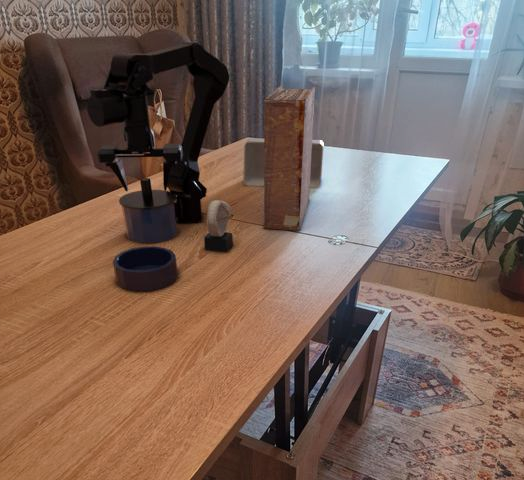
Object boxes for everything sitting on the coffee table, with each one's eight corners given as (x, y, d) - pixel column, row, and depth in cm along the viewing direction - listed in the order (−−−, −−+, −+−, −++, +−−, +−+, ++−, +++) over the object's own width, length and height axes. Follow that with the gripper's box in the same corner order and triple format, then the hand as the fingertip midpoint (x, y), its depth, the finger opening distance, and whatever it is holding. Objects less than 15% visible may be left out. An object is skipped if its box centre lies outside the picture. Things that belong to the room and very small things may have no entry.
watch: (235, 242, 118) (233, 197, 111) (224, 255, 111) (221, 208, 105) (213, 239, 119) (211, 195, 113) (201, 252, 113) (198, 206, 106)
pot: (179, 223, 128) (176, 191, 123) (175, 242, 118) (171, 208, 113) (131, 225, 127) (126, 192, 122) (123, 243, 117) (117, 209, 112)
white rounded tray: (321, 174, 166) (324, 135, 159) (320, 188, 153) (323, 146, 146) (250, 172, 169) (249, 133, 162) (243, 185, 156) (242, 144, 149)
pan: (179, 264, 108) (177, 245, 105) (174, 290, 97) (172, 270, 95) (122, 265, 107) (119, 247, 104) (111, 292, 97) (107, 272, 94)
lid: (178, 193, 124) (176, 170, 121) (174, 211, 113) (171, 187, 109) (125, 194, 123) (121, 172, 120) (114, 212, 112) (110, 188, 109)
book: (278, 198, 145) (280, 85, 127) (309, 200, 143) (315, 86, 126) (264, 229, 124) (263, 100, 107) (299, 231, 123) (305, 101, 106)
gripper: (181, 113, 114) (187, 180, 123) (101, 114, 113) (113, 181, 122) (177, 122, 105) (184, 193, 114) (90, 123, 104) (104, 195, 113)
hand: (146, 190), depth 116 cm, fingers open, 9 cm apart
